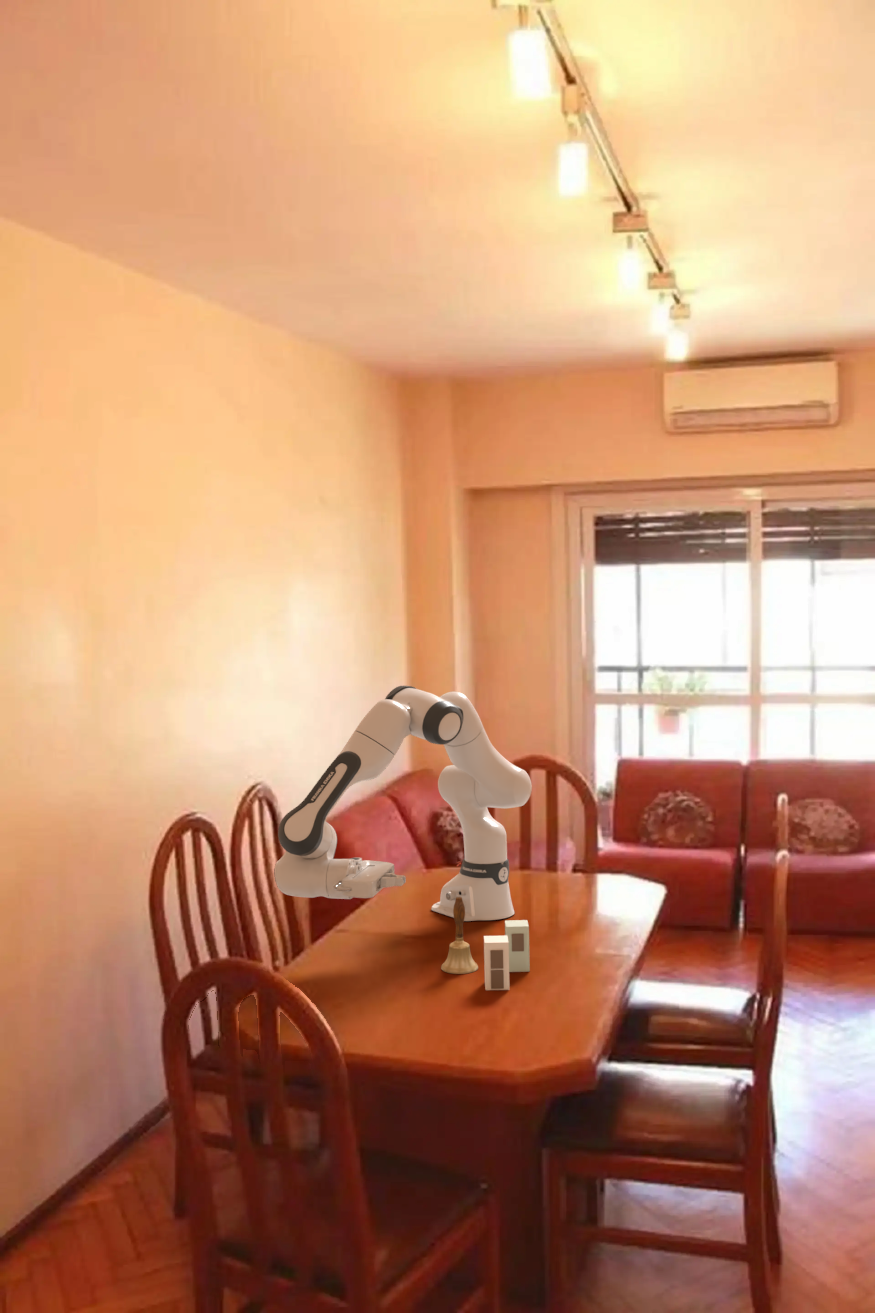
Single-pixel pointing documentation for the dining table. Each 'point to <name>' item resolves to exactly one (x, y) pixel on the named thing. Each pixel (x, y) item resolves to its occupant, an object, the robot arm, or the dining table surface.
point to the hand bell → (459, 946)
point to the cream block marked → (496, 962)
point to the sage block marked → (518, 945)
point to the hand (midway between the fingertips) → (404, 880)
